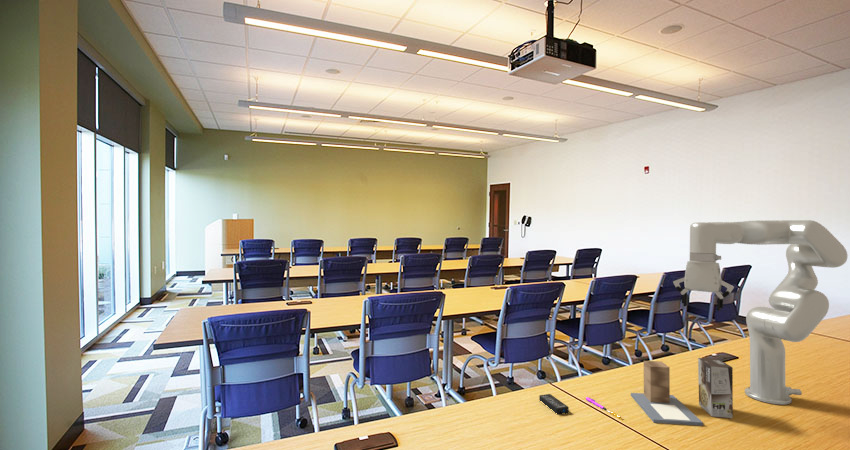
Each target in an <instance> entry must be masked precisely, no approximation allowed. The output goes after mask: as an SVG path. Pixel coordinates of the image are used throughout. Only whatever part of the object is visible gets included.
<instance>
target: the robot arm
mask: <svg viewBox="0 0 850 450" xmlns="http://www.w3.org/2000/svg"><path fill="white" fill-rule="evenodd" d="M717 244H718V245H719V244H720V245H733V244H734V245H735V244H742V245H743V244H744V245H757V246H758V245H759V246H761V245H765V246H767V245H788V246H787V248H786V251H785V257H786V261H787V265H788V266H787V267H788V273H787V275H786V276H785V277H784V278H783V279H782V281H781V282H780V283H779V284H778V285H777V286H776V287H775V289H774V290H773V291H772V292H771V294H770V295H769V297H768V304H769V305H770V307H766V306H756V307H753V308H751V309H750V310H749V311H747V313H746V317H745V321H746V326H747V330H748V334H749V336H748V337H749V372H750V374H749V376H750V377H749V381H750V382H749V387H746V388H745V389H744V394H745V395H746V396H748V397H749V398H752V399H754V400H756V401H760V402H763V403H768V404H772V405H783V406H784V405H789V404H791V403H793V402H792V397H791V396H792V395H795V396H802V394H803V393H802V390H801V389H800V388H792V387H791V386H787V385H786V348H785V347H786V346H785V344H784V343H783V341H788V342H790V343H791V342H792V343H798V342H803V341H804V340H806V338H808V337H809V336H810V335H811V333H812V332H813V331H814V330H815V329H816V328H817V327H818V326H819V324H820V323H821V322H822V321H823V319H824V318H825V317H826V316H827V314H828V312H829V308H830V302H829V299H828V297H827V295H825V294H824V293H823V292H821V291H819V290H816V288H817V286H818V284H819V280H818V277H817V275H816V273H815V270H814V268H813V267H817V268H819V267H820V268H832V269H833V268H838V267H842V266H844V265H845V264H846V262H847V259H848V256H849V255H848V251H847V249H846V248H845V246H844V245H843V244H842V243H841V242H840V241H839V240H838V239H837V237H835V236H834V234H833V233H831V231H829V230H828V228H826V227H825V226H824V225H822V224H821V223H820V222H817V221H815V220H813V219H812V220H811V219H810V220H807V219H806V220H805V219H803V220H797V219H796V220H792V219H791V220H787V219H786V220H785V219H784V220H783V219H782V220H746V221H745V220H744V221H731V222H730V221H728V222H727V221H717V222H716V221H711V222H700V221H699V222H692V223H691V224H690V226H689V260H687V262H686V266H685V271H684V276H683V277H682V278H678V279H676V280H673V281H672V283H673V285H674V286H675V289H676V290H677V291H678V292H679V293H680V294H681V304H683V305H682V306H683V307H687V306H688V305H689V294H688V292H689V291H695V292H696V291H697V292H703V293H704V292H706V293H714V294H715V295H716V296H717V298H716V311H719V312H720V311H722V309H724V299H725V298H726V297H728V296H729V295H730V294H731V293H732V291H733V290H734V288H735V286H733V285H731V284H730V283H727V282H725V281H724V280H722V275H721V267H720V263H719V262H717V261H721V260H722V255H718V254H717ZM683 282H684V289H683V288H682V286H681V285H680V283H683ZM722 286H723V287H725V288H726V290H725V291H724V292H722V291H721V289H722Z"/></svg>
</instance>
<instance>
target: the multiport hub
mask: <svg viewBox="0 0 850 450" xmlns="http://www.w3.org/2000/svg"><path fill="white" fill-rule="evenodd" d="M538 397H539V400H540V401H542V402H543V403H544V404H545V405H547V406H548V407H549V408H550V409H552V410H553V411H554V412H555V414H556V413H557V414H561V415H563V414H562V413H567V414H569V413H570V412H569V410H570V409H569V408H570V407H569V406H568V405H566V404H565V403H563V402H562V401H561V400H559V399H558V398H557V397H555V396H553V395H552V394H551V393H545V394H540V395H539V396H538ZM540 401H539V402H540ZM544 404H543V405H544ZM545 405H544V406H545ZM548 407H547V408H548ZM549 408H548V409H549ZM550 409H549V410H550ZM552 410H551V411H552ZM553 411H552V412H553ZM554 412H553V413H554ZM568 412H569V413H568ZM557 414H556V415H557Z"/></svg>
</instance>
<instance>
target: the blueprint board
mask: <svg viewBox="0 0 850 450" xmlns="http://www.w3.org/2000/svg"><path fill="white" fill-rule="evenodd" d="M670 371H671V370H670V366H668V365H667V364H665V362H663V361H662V360H661V361H659V360H657V361H656V360H643V392H641V393H640V392H639V393H638V392H630V397H631V398H632V399H633V400H634V401H635V402H636V404H638V406H639V407H640V409H642V410H643V412H644V413H645V415H647V417H648V418H649V419H650V420H651V422H653V423H655V424H670V425H687V426H702V427H703V426H704V422H703V421H702V420H701V419H700V418H699V417H698V416H696V415H695V414H694V413H693V412H692V411H691V410H690V409H689V408H688V407H687V406H686V405H685V404H683V402H681V401H680V400H679V399H678V398H677V397H676V396H675V395H674V394H671V393H670V392H671V391H670V390H671V389H670V386H671V385H670V377H671V375H670Z"/></svg>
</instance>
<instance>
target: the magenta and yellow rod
mask: <svg viewBox="0 0 850 450" xmlns="http://www.w3.org/2000/svg"><path fill="white" fill-rule="evenodd" d="M585 400H586V401H587V402H588V403H590V402H591V404H592V403H593V404H592V405H594V406H596V407H598V408H599V407H600V409H601V410H603V409H604V410H603V411H607V412H608V413H609V414H610V415H612V416H614V417H615V418H617V419H618V420H622V421H624V418H623V417H622V416H621V415H619V414H617V413H615V412H614V411H609V410H608V409H607V408H606V407H605V406H603V405H602V404H600V403H598V402H597V401H596V400H595V399H593V398H591V397H588V396H587V397H585ZM595 401H596V402H595Z"/></svg>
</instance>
